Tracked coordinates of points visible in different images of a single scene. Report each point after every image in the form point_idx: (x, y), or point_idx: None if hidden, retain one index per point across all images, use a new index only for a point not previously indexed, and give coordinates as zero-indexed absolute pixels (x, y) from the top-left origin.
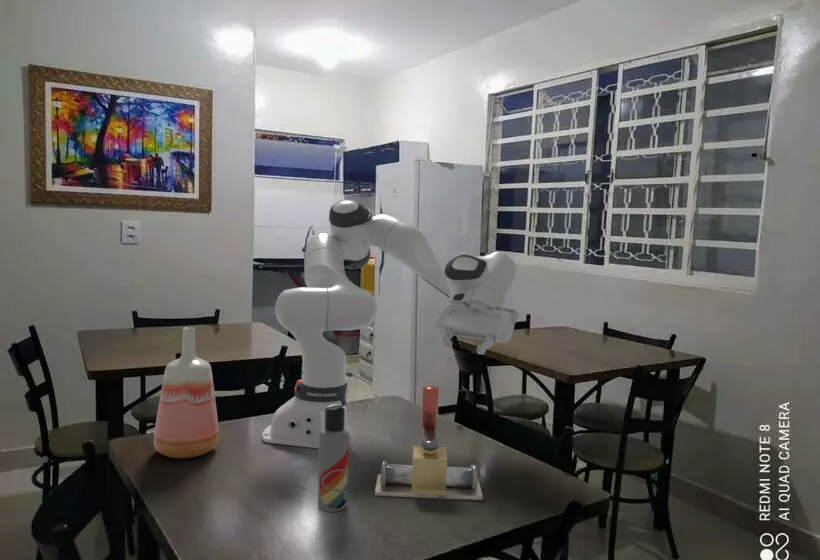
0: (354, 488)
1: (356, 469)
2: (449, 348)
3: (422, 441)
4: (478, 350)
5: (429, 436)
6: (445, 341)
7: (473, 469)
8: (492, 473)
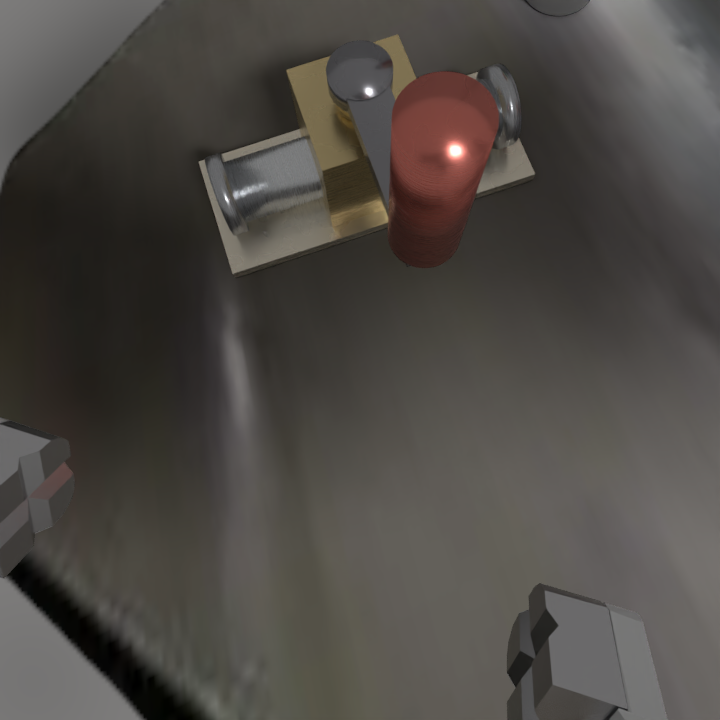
0: (558, 93)
1: (624, 211)
2: (515, 627)
3: (386, 52)
4: (32, 428)
5: (381, 120)
6: (626, 658)
7: (216, 157)
8: (202, 367)
